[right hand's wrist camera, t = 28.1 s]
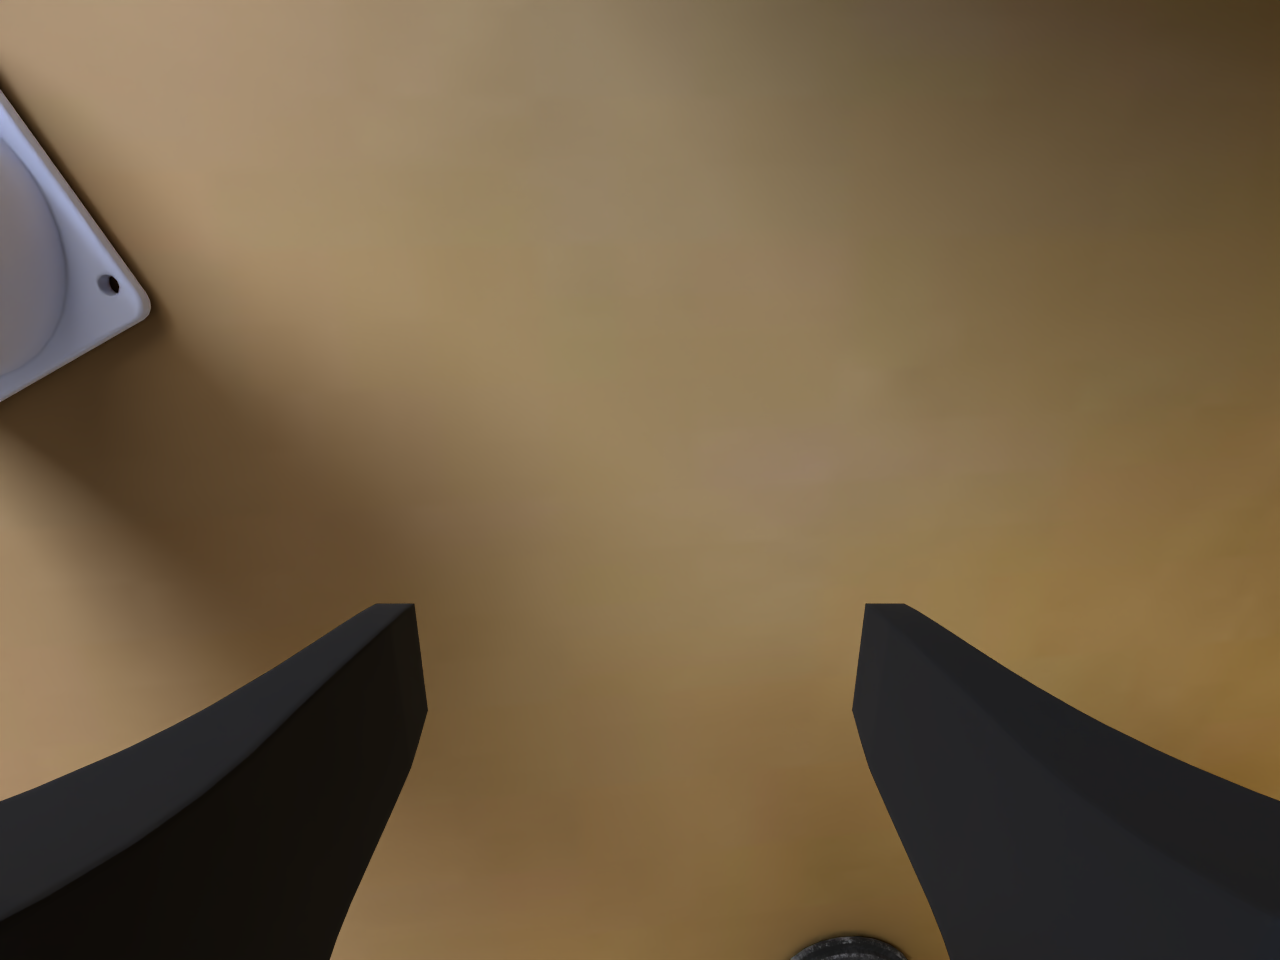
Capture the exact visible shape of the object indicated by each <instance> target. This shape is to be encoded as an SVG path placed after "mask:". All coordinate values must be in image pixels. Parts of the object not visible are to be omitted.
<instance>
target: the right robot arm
mask: <svg viewBox="0 0 1280 960" xmlns="http://www.w3.org/2000/svg"><path fill="white" fill-rule="evenodd" d="M111 276H113V277H114V278H115V279H116V280H117V282H118V284H119V292H118V293H116V292H114V291H113V290H112V289H111V287H110V284H109V278H110V277H111ZM150 310H151V304H150V299H149V297H148V295H147V293H146V292H145V291H144V289H143V288H142V286H141V285H140V284H139V282H138V281H137V279H136V278H135V277H134V275H133V274H132V272H131V271H130V270H129V268H128V267H127V265H126V264H125V263H124V261H123V260H122V258H121V257H120V256H119V254H118V253H117V251H116V250H115V249H114V247H113V246H112V245H111V243H110V242H109V240H108V239H107V238H106V236H105V235H104V233H103V232H102V231H101V229H100V228H99V226H98V225H97V224H96V222H95V221H94V219H93V218H92V217H91V215H90V214H89V212H88V211H87V210H86V208H85V207H84V205H83V204H82V203H81V201H80V200H79V198H78V197H77V196H76V194H75V193H74V192H73V190H72V189H71V187H70V186H69V185H68V183H67V182H66V180H65V179H64V178H63V176H62V175H61V173H60V172H59V171H58V169H57V168H56V166H55V165H54V164H53V162H52V161H51V159H50V158H49V157H48V155H47V154H46V152H45V151H44V150H43V148H42V147H41V145H40V144H39V143H38V141H37V140H36V138H35V137H34V136H33V134H32V133H31V132H30V130H29V129H28V127H27V126H26V125H25V123H24V122H23V120H22V119H21V118H20V116H19V115H18V113H17V112H16V111H15V109H14V108H13V106H12V105H11V104H10V102H9V101H8V99H7V98H6V97H5V95H4V94H3V92H2V91H1V90H0V402H1V401H3V400H5V399H7V398H8V397H10V396H12V395H14V394H15V393H17V392H19V391H20V390H22V389H24V388H26V387H27V386H29V385H31V384H33V383H34V382H36V381H38V380H40V379H41V378H43V377H45V376H47V375H48V374H50V373H52V372H54V371H55V370H57V369H59V368H61V367H62V366H64V365H66V364H67V363H69V362H71V361H73V360H74V359H76V358H78V357H80V356H81V355H83V354H85V353H87V352H88V351H90V350H92V349H94V348H95V347H97V346H99V345H101V344H102V343H104V342H106V341H108V340H109V339H111V338H113V337H114V336H116V335H118V334H120V333H121V332H123V331H125V330H127V329H128V328H130V327H132V326H134V325H135V324H137V323H139V322H141V321H142V320H144V319H145V318H146V317H147V316H148V315H149V313H150ZM427 711H428V708H427V700H426V692H425V684H424V676H423V668H422V660H421V652H420V644H419V636H418V629H417V621H416V613H415V605H414V604H375V605H373V606H371V607H369V608H367V609H365V610H364V611H362V612H360V613H359V614H357V615H355V616H354V617H352V618H351V619H349V620H347V621H346V622H344V623H343V624H341V625H340V626H338V627H337V628H335V629H334V630H332V631H330V632H329V633H327V634H326V635H324V636H323V637H321V638H320V639H318V640H317V641H315V642H314V643H312V644H311V645H309V646H307V647H306V648H304V649H303V650H301V651H300V652H298V653H297V654H295V655H294V656H292V657H290V658H289V659H287V660H286V661H284V662H283V663H281V664H280V665H278V666H276V667H275V668H273V669H272V670H270V671H268V672H267V673H265V674H263V675H261V676H260V677H258V678H256V679H255V680H253V681H251V682H250V683H248V684H246V685H245V686H243V687H241V688H240V689H238V690H236V691H235V692H233V693H231V694H230V695H228V696H226V697H224V698H223V699H221V700H219V701H218V702H216V703H214V704H213V705H211V706H209V707H207V708H205V709H204V710H202V711H200V712H198V713H196V714H194V715H193V716H191V717H189V718H187V719H185V720H183V721H181V722H179V723H177V724H176V725H174V726H172V727H169V728H167V729H165V730H163V731H161V732H159V733H157V734H155V735H153V736H151V737H149V738H147V739H145V740H143V741H141V742H139V743H137V744H135V745H133V746H131V747H129V748H127V749H124V750H122V751H120V752H118V753H116V754H113V755H111V756H109V757H106V758H104V759H102V760H99V761H97V762H95V763H92V764H90V765H88V766H85V767H83V768H81V769H78V770H76V771H74V772H71V773H69V774H67V775H64V776H62V777H60V778H57V779H55V780H53V781H50V782H48V783H46V784H43V785H41V786H39V787H36V788H34V789H31V790H29V791H26V792H24V793H21V794H19V795H16V796H13V797H11V798H8V799H5V800H3V801H0V960H330V957H331V954H332V951H333V948H334V945H335V942H336V940H337V937H338V934H339V932H340V929H341V927H342V924H343V922H344V919H345V917H346V914H347V912H348V909H349V907H350V904H351V902H352V900H353V897H354V895H355V893H356V891H357V888H358V886H359V884H360V882H361V880H362V877H363V875H364V873H365V871H366V868H367V866H368V864H369V862H370V859H371V857H372V855H373V853H374V851H375V848H376V846H377V844H378V842H379V839H380V837H381V835H382V833H383V830H384V828H385V826H386V824H387V822H388V819H389V817H390V815H391V813H392V810H393V808H394V806H395V803H396V801H397V799H398V797H399V794H400V792H401V790H402V788H403V785H404V783H405V781H406V778H407V776H408V774H409V771H410V769H411V766H412V763H413V760H414V756H415V753H416V750H417V747H418V743H419V740H420V736H421V733H422V729H423V726H424V722H425V718H426V715H427ZM852 711H853V715H854V718H855V722H856V726H857V729H858V733H859V736H860V740H861V743H862V747H863V750H864V753H865V756H866V760H867V763H868V766H869V769H870V771H871V774H872V776H873V778H874V781H875V783H876V785H877V788H878V790H879V792H880V794H881V797H882V799H883V801H884V803H885V806H886V808H887V810H888V813H889V815H890V817H891V819H892V822H893V824H894V826H895V828H896V830H897V833H898V835H899V837H900V839H901V842H902V844H903V846H904V848H905V851H906V853H907V855H908V857H909V859H910V862H911V864H912V866H913V868H914V871H915V873H916V875H917V877H918V880H919V882H920V884H921V886H922V888H923V891H924V893H925V895H926V897H927V900H928V902H929V904H930V907H931V909H932V912H933V914H934V917H935V919H936V922H937V924H938V927H939V929H940V932H941V934H942V937H943V940H944V942H945V945H946V948H947V951H948V954H949V957H950V960H1280V801H1278V800H1276V799H1273V798H1270V797H1268V796H1265V795H1262V794H1260V793H1257V792H1255V791H1252V790H1250V789H1247V788H1245V787H1242V786H1240V785H1237V784H1235V783H1233V782H1230V781H1228V780H1225V779H1223V778H1221V777H1218V776H1216V775H1213V774H1211V773H1209V772H1206V771H1204V770H1201V769H1199V768H1197V767H1194V766H1192V765H1189V764H1187V763H1185V762H1183V761H1180V760H1178V759H1176V758H1174V757H1172V756H1169V755H1167V754H1165V753H1163V752H1160V751H1158V750H1156V749H1154V748H1152V747H1150V746H1148V745H1146V744H1144V743H1142V742H1140V741H1138V740H1136V739H1134V738H1132V737H1130V736H1128V735H1126V734H1123V733H1121V732H1119V731H1117V730H1115V729H1113V728H1111V727H1109V726H1107V725H1105V724H1103V723H1101V722H1099V721H1098V720H1096V719H1094V718H1092V717H1090V716H1088V715H1086V714H1084V713H1082V712H1081V711H1079V710H1077V709H1075V708H1073V707H1072V706H1070V705H1068V704H1066V703H1065V702H1063V701H1061V700H1059V699H1058V698H1056V697H1054V696H1052V695H1051V694H1049V693H1047V692H1045V691H1044V690H1042V689H1040V688H1038V687H1037V686H1035V685H1033V684H1032V683H1030V682H1028V681H1027V680H1025V679H1024V678H1022V677H1020V676H1019V675H1017V674H1015V673H1014V672H1012V671H1011V670H1009V669H1007V668H1006V667H1004V666H1003V665H1001V664H999V663H998V662H996V661H995V660H993V659H992V658H990V657H988V656H987V655H985V654H984V653H982V652H981V651H979V650H978V649H976V648H974V647H973V646H971V645H970V644H968V643H967V642H965V641H964V640H962V639H961V638H959V637H958V636H956V635H955V634H953V633H952V632H950V631H948V630H947V629H945V628H944V627H942V626H941V625H939V624H938V623H936V622H935V621H933V620H931V619H930V618H928V617H927V616H925V615H923V614H922V613H920V612H918V611H917V610H915V609H913V608H911V607H910V606H908V605H906V604H866V605H865V613H864V621H863V628H862V636H861V644H860V652H859V660H858V668H857V676H856V684H855V692H854V700H853V708H852Z"/></svg>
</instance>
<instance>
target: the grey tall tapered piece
mask: <svg viewBox="0 0 1280 960" xmlns="http://www.w3.org/2000/svg"><path fill="white" fill-rule="evenodd" d="M790 960H907V959H906V957H905V956H904V955H903V953H901V952H900V951H898V950H897V949H896V948H894V947H893V946H891V945H890V944H887V943H884V942H882V941H879V940H876V939H872V938H865V937H858V936H854V937H837V938H833V939H829V940H824V941H820V942H818V943H816V944H814V945H811V946H809V947H807V948H805V949H803V950H802V951H801V952H799V953H798V954H796V955H795V956H794V957H792V958H791V959H790Z"/></svg>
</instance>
